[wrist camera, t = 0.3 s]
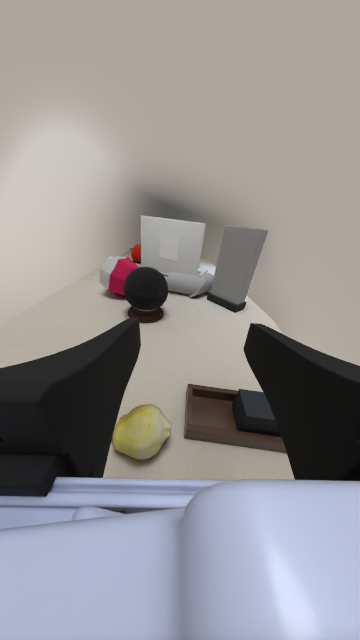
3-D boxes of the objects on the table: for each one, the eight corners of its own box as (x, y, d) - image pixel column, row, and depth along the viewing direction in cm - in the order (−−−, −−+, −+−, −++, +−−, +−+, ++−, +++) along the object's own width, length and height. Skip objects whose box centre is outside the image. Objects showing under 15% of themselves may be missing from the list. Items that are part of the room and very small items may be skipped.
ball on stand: (115, 314, 52) (111, 265, 44) (144, 301, 62) (144, 260, 54) (148, 329, 46) (149, 277, 39) (173, 313, 57) (178, 269, 49)
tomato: (130, 260, 121) (129, 242, 115) (149, 260, 126) (149, 244, 121) (133, 264, 111) (132, 245, 105) (153, 265, 116) (154, 247, 110)
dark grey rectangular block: (276, 438, 25) (289, 422, 23) (237, 432, 25) (246, 416, 23) (265, 410, 29) (276, 394, 27) (231, 405, 29) (239, 388, 27)
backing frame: (288, 453, 24) (295, 445, 23) (184, 438, 24) (186, 429, 23) (267, 403, 30) (272, 395, 29) (186, 392, 30) (188, 383, 29)
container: (232, 317, 64) (276, 234, 46) (199, 294, 74) (226, 217, 56) (241, 313, 69) (285, 236, 51) (209, 291, 78) (237, 220, 60)
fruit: (104, 417, 25) (169, 406, 26) (97, 469, 21) (174, 454, 22) (89, 406, 21) (168, 394, 22) (77, 470, 17) (174, 451, 18)
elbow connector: (191, 301, 64) (217, 292, 77) (190, 273, 60) (218, 268, 73) (160, 296, 75) (188, 288, 89) (158, 272, 71) (188, 268, 85)
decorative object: (138, 262, 53) (98, 244, 54) (123, 304, 57) (85, 286, 58) (152, 268, 68) (120, 253, 69) (140, 301, 71) (109, 286, 72)
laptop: (206, 273, 111) (216, 226, 97) (195, 283, 90) (205, 223, 76) (161, 264, 121) (163, 219, 107) (140, 270, 99) (140, 215, 85)
